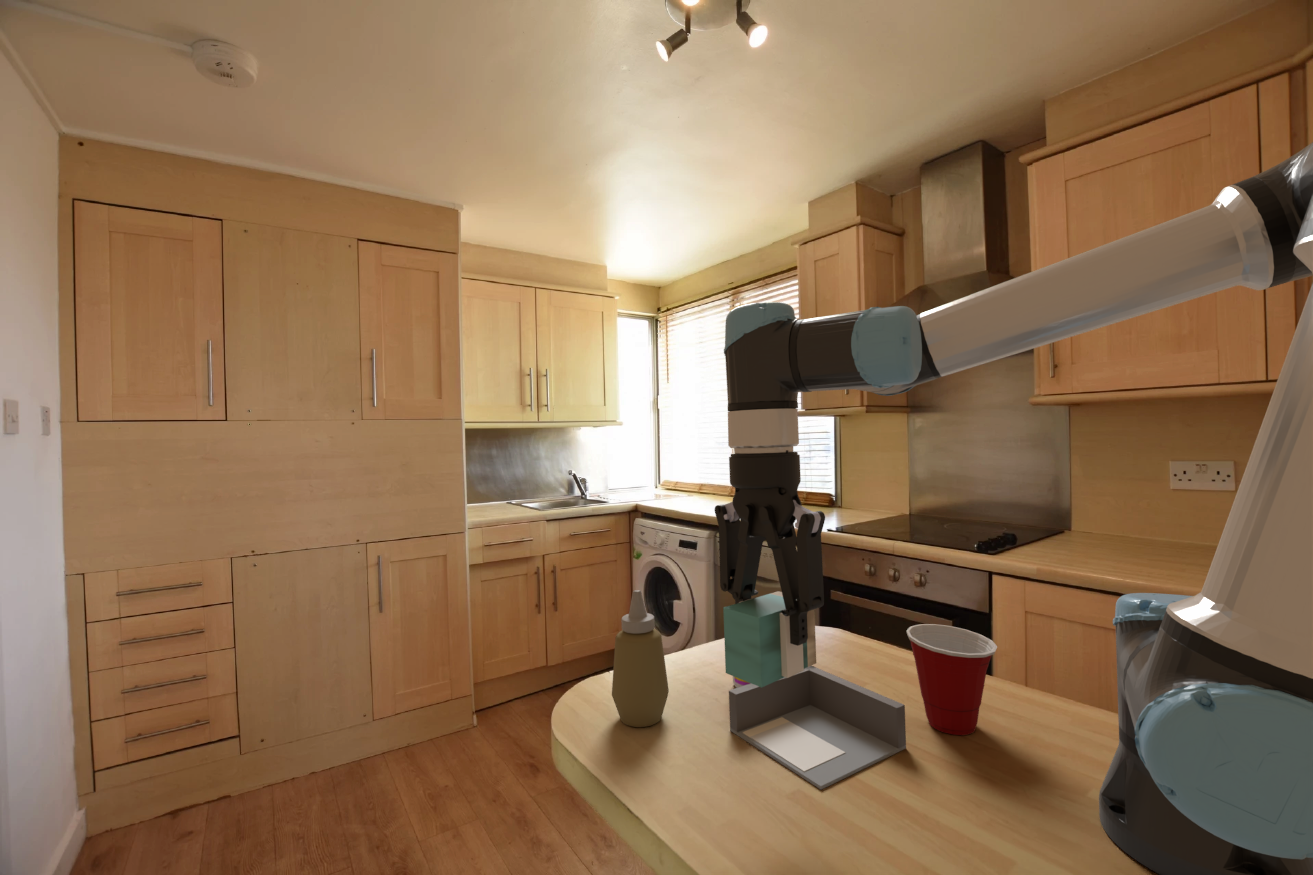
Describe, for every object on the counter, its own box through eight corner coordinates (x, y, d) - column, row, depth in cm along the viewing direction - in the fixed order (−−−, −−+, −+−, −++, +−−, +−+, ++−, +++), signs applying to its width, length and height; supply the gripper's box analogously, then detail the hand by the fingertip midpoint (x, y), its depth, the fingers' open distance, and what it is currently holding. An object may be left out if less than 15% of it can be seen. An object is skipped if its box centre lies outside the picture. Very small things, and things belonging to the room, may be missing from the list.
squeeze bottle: (638, 700, 89) (634, 581, 89) (681, 715, 84) (677, 588, 84) (600, 721, 83) (596, 593, 83) (644, 738, 78) (639, 602, 78)
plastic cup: (1004, 753, 71) (1001, 654, 71) (907, 736, 76) (904, 643, 76) (996, 713, 81) (993, 626, 81) (910, 701, 86) (907, 618, 86)
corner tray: (906, 748, 73) (904, 704, 73) (820, 789, 65) (819, 741, 65) (810, 700, 87) (808, 664, 87) (730, 730, 79) (728, 690, 79)
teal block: (780, 651, 68) (778, 591, 68) (816, 663, 65) (814, 599, 64) (725, 672, 63) (723, 607, 63) (761, 687, 59) (759, 617, 59)
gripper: (857, 448, 59) (866, 680, 59) (727, 449, 73) (734, 636, 73) (812, 451, 54) (821, 703, 54) (682, 452, 68) (689, 652, 68)
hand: (771, 664), depth 64 cm, fingers closed on teal block, 5 cm apart
